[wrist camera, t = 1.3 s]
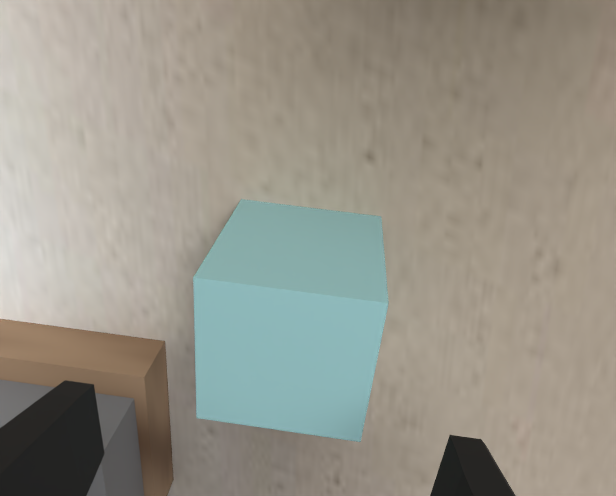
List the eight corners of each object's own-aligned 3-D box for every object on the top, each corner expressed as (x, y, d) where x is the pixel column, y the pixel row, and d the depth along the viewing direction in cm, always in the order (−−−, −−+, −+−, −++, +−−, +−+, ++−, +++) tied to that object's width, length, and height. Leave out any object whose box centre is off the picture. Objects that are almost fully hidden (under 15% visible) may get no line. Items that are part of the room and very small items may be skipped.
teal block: (360, 329, 17) (360, 442, 13) (238, 313, 18) (196, 418, 13) (381, 216, 15) (388, 303, 11) (241, 198, 16) (193, 277, 11)
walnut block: (177, 470, 23) (157, 520, 20) (13, 445, 23) (-25, 492, 21) (169, 333, 19) (144, 376, 17) (-26, 306, 19) (-76, 346, 17)
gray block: (146, 513, 20) (119, 576, 18) (-3, 490, 21) (-47, 549, 18) (134, 398, 17) (100, 456, 15) (-40, 373, 18) (-99, 427, 15)
